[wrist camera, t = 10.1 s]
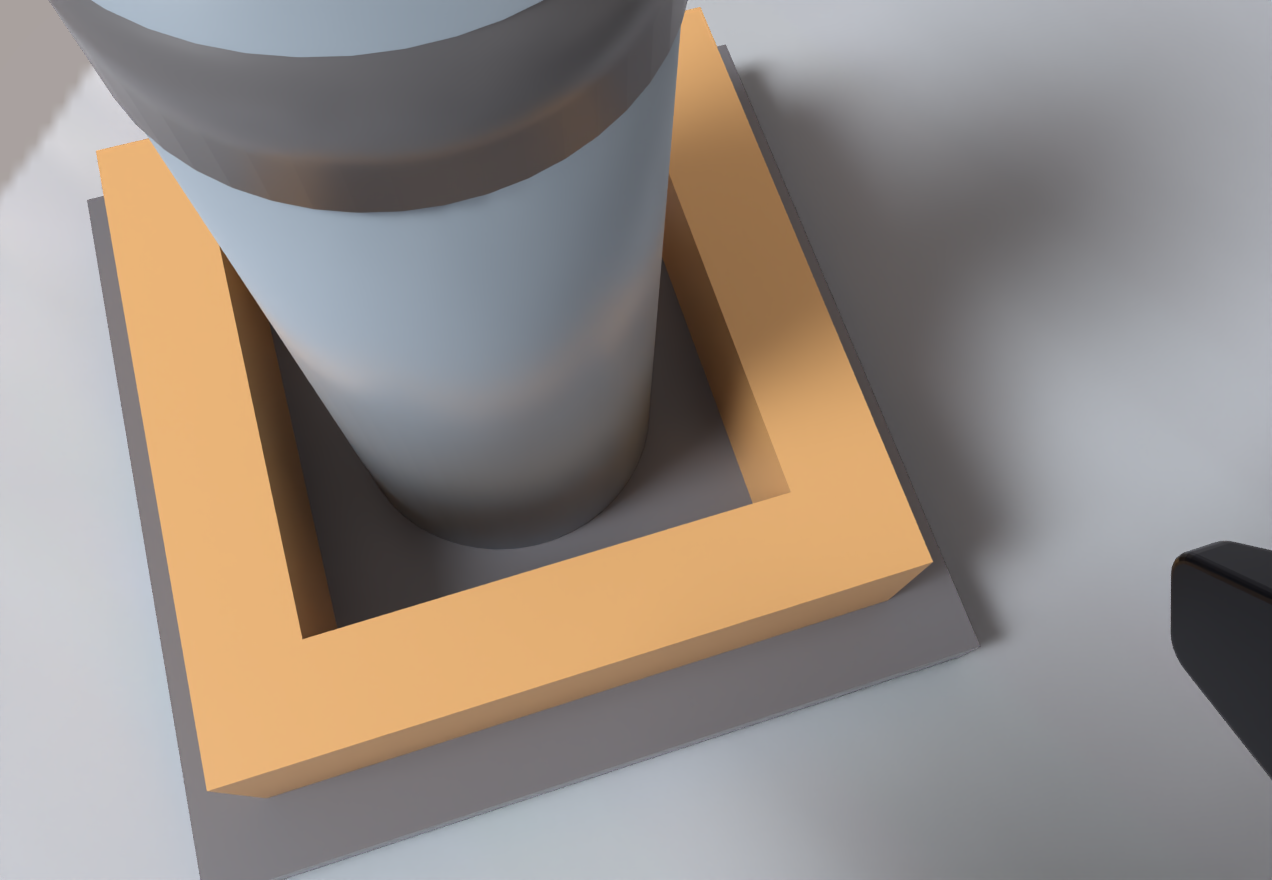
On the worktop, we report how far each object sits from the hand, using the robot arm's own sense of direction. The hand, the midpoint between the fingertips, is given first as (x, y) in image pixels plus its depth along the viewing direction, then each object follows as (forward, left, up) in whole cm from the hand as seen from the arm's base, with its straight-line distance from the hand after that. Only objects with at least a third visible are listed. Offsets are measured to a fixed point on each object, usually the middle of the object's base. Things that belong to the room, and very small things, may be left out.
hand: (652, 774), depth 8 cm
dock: (+3, +6, -9) cm, 11 cm away
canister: (+3, +6, -8) cm, 10 cm away
